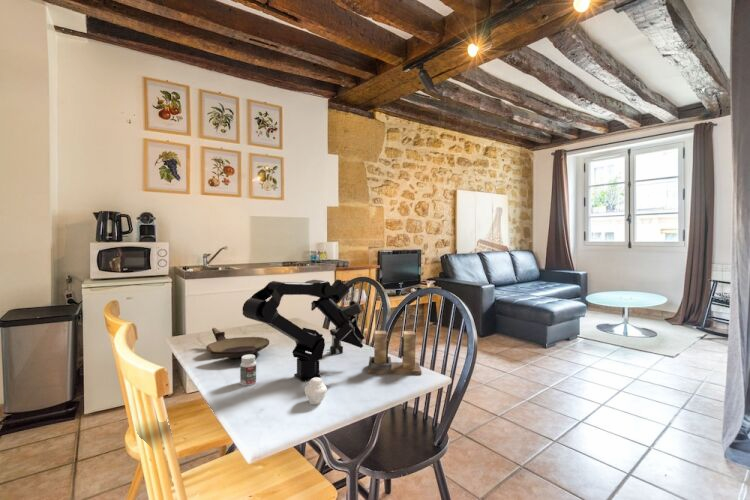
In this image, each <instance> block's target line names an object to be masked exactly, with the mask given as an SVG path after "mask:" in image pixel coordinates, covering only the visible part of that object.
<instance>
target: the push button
mask: <svg viewBox="0 0 750 500" xmlns="http://www.w3.org/2000/svg"><path fill="white" fill-rule="evenodd" d="M335 328H336V326H334V327H332V328H331V329H329V333H330V335H331V345H330V347H329V349H326V351H327V352H325V353H326V354H331V355H336V354H343V353H344V352H343V351H344V346H342V341H341V340H340V341H338V340H337V339H336V338H335V333H336V331H337V330H336V329H335Z"/></svg>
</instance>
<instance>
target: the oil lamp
mask: <svg viewBox="0 0 750 500" xmlns="http://www.w3.org/2000/svg"><path fill="white" fill-rule="evenodd" d="M211 328H212V329H211V330H212V333H213V335H214V339H215V340H216V341H214V342H212V343H209V344H208V345H206V351H207V352H210V355H214V356H217V357H221V358H227V359H239V358H242V356H244V355H249V354H251V355H254V354H257V353H258V352H260V351H262V350H263V349H265V348H266V347H268V346H269V345H270V340H269V339H268V337H267V338H265V337H263V336H262V337H261V336H246V337H244V336H243V337H242V336H241V337H240V336H239V337H230V338H226V336H225V335H226V332H225V331H220V330H218V329H217V328H216V327H211Z"/></svg>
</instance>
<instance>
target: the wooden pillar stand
mask: <svg viewBox="0 0 750 500" xmlns="http://www.w3.org/2000/svg"><path fill="white" fill-rule="evenodd" d="M416 339H417V337H416V332H415V331H411V330H409V331H408V330H403V331H402V336H401V343H400V347H401V348H400V354H401V357H402V362H398V361H396V362H395V361H394V362H393V361H392V359H391V356H388V358H386V364H374V356H369V358H368V360H369V361H368V370H367V372H368V375H417V376H418V375H420V376H422V369H421V366H420V363H419V362H416V345H417V344H416V343H417V342H416Z"/></svg>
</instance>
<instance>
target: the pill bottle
mask: <svg viewBox="0 0 750 500" xmlns="http://www.w3.org/2000/svg"><path fill="white" fill-rule="evenodd" d="M239 367H240V368H239V369H240V370H239V371H240V372H239V373H240V376H239V378H240V381H239V383H240V384H241V385H242V386H244V387H245V386H252V385H254V384H256V383H257V362H256V355H254V354H249V355H244V356H242V357H241V363H240V366H239Z"/></svg>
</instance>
